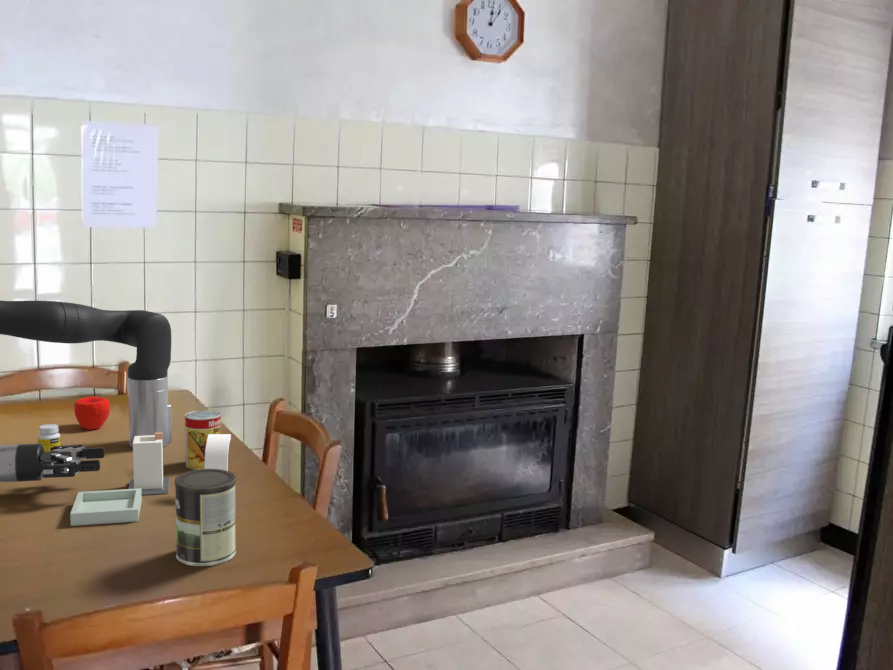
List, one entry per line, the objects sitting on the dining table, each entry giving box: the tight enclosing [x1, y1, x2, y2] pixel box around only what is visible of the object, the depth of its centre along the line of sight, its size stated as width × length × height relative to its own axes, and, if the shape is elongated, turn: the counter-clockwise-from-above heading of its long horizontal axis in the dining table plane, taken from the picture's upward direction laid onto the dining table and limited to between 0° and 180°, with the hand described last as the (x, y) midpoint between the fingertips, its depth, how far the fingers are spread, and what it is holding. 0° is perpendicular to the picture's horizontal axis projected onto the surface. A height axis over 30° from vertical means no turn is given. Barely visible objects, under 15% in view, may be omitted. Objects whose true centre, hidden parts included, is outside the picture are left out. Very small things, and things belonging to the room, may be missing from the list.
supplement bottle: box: [37, 423, 62, 452], centre depth 198 cm, size 5×5×8 cm
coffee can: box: [174, 469, 237, 568], centre depth 151 cm, size 10×10×14 cm
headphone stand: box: [205, 433, 232, 471], centre depth 182 cm, size 5×6×12 cm
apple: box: [73, 396, 111, 431], centre depth 226 cm, size 9×9×8 cm
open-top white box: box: [132, 432, 164, 489], centre depth 183 cm, size 6×6×11 cm
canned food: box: [184, 409, 222, 471], centre depth 199 cm, size 8×8×12 cm
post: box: [127, 476, 170, 496], centre depth 183 cm, size 8×8×8 cm
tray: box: [69, 488, 143, 527], centre depth 170 cm, size 12×12×2 cm
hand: (102, 458), depth 180 cm, fingers open, 8 cm apart
